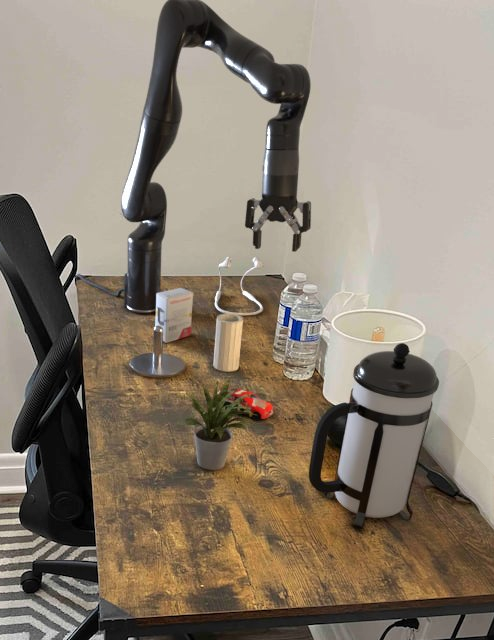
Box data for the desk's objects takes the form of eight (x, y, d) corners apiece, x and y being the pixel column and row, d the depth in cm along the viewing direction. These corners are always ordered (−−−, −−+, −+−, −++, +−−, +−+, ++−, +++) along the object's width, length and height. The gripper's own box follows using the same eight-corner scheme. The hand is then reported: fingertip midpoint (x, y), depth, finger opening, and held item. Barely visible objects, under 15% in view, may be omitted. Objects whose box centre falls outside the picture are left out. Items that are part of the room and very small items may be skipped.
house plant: (191, 493, 129) (196, 409, 120) (155, 456, 139) (158, 376, 130) (259, 475, 134) (269, 394, 126) (220, 440, 145) (227, 364, 136)
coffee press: (334, 473, 136) (363, 317, 120) (421, 500, 129) (464, 339, 113) (299, 519, 123) (326, 352, 107) (393, 551, 116) (437, 378, 100)
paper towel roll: (208, 367, 174) (212, 318, 168) (221, 359, 179) (224, 311, 172) (231, 373, 172) (235, 324, 165) (242, 365, 176) (247, 317, 169)
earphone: (252, 278, 221) (266, 252, 203) (255, 331, 219) (270, 309, 201) (207, 278, 220) (218, 251, 202) (210, 331, 217) (221, 310, 200)
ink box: (179, 330, 194) (181, 286, 187) (192, 336, 190) (194, 291, 184) (153, 337, 189) (154, 292, 182) (166, 343, 186) (167, 298, 179)
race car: (277, 414, 155) (279, 397, 153) (265, 424, 151) (267, 406, 149) (222, 397, 161) (224, 380, 159) (210, 406, 157) (211, 389, 155)
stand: (118, 368, 172) (118, 327, 166) (149, 351, 181) (150, 311, 176) (165, 383, 166) (167, 341, 161) (195, 364, 175) (197, 324, 170)
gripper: (317, 170, 157) (311, 248, 165) (254, 168, 162) (250, 244, 170) (309, 175, 151) (303, 255, 159) (243, 172, 156) (240, 250, 164)
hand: (276, 249), depth 164 cm, fingers open, 8 cm apart
